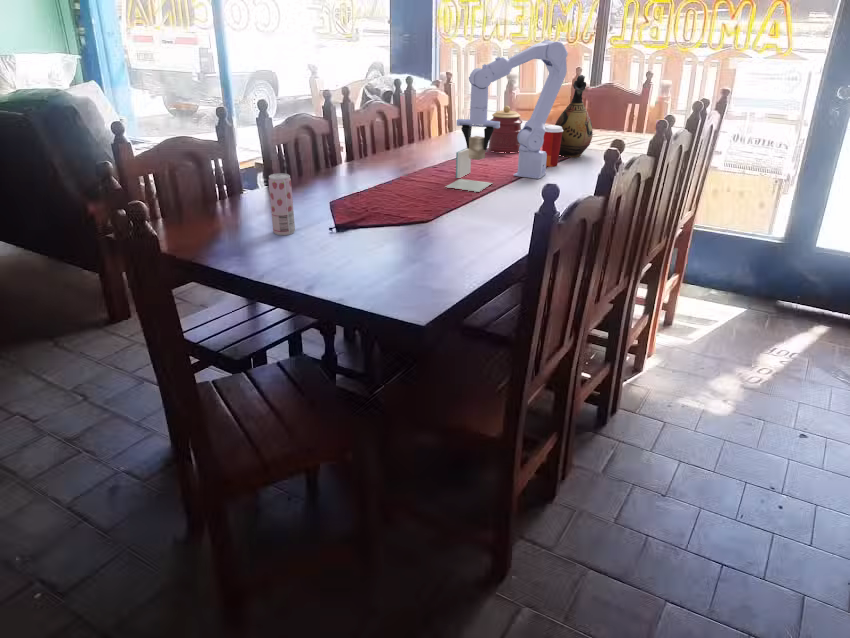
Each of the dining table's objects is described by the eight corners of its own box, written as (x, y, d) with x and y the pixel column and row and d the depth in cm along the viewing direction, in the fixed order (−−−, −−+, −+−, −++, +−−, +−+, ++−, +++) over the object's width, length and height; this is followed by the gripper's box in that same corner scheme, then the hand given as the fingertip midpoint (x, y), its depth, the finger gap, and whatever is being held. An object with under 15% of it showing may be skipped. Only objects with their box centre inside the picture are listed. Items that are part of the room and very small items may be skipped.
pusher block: (484, 158, 227) (485, 137, 224) (477, 160, 225) (478, 139, 221) (475, 156, 230) (476, 135, 227) (468, 158, 227) (469, 137, 224)
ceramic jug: (590, 160, 255) (600, 78, 242) (549, 158, 258) (557, 77, 245) (589, 151, 270) (598, 73, 257) (551, 149, 273) (558, 72, 260)
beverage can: (285, 227, 179) (280, 172, 172) (299, 231, 176) (295, 175, 169) (268, 232, 175) (263, 176, 168) (282, 237, 172) (277, 179, 165)
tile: (470, 173, 235) (471, 148, 231) (459, 179, 228) (460, 152, 224) (466, 173, 236) (467, 147, 232) (455, 178, 229) (456, 152, 225)
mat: (492, 184, 222) (492, 183, 221) (478, 192, 212) (478, 191, 212) (460, 180, 227) (460, 178, 226) (444, 188, 217) (445, 186, 217)
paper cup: (559, 163, 251) (562, 125, 245) (560, 167, 244) (564, 128, 238) (538, 162, 252) (541, 124, 246) (539, 167, 245) (542, 128, 239)
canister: (509, 155, 263) (512, 109, 255) (482, 151, 270) (484, 106, 262) (526, 150, 272) (529, 105, 264) (499, 146, 279) (501, 102, 271)
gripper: (502, 106, 221) (500, 147, 227) (460, 104, 225) (459, 144, 231) (498, 109, 215) (496, 151, 221) (455, 107, 219) (454, 148, 225)
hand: (477, 148), depth 226 cm, fingers closed on pusher block, 5 cm apart
